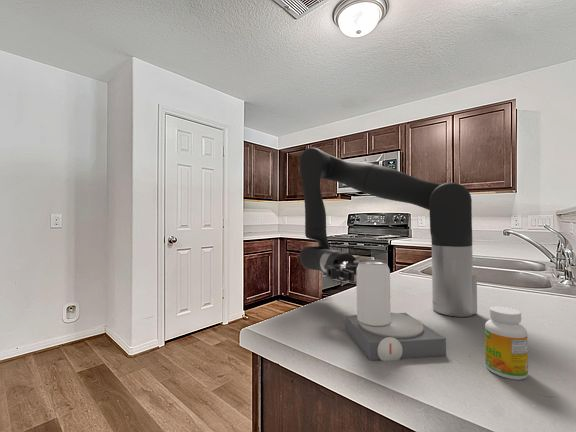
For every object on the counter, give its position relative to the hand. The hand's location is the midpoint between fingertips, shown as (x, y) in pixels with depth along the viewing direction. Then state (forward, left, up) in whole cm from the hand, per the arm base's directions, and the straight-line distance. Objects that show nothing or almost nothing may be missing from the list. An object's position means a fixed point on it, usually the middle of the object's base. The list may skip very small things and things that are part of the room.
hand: (370, 275), depth 64 cm
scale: (-1, +7, -12) cm, 14 cm away
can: (+2, +6, -8) cm, 10 cm away
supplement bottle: (-14, +20, -12) cm, 27 cm away
